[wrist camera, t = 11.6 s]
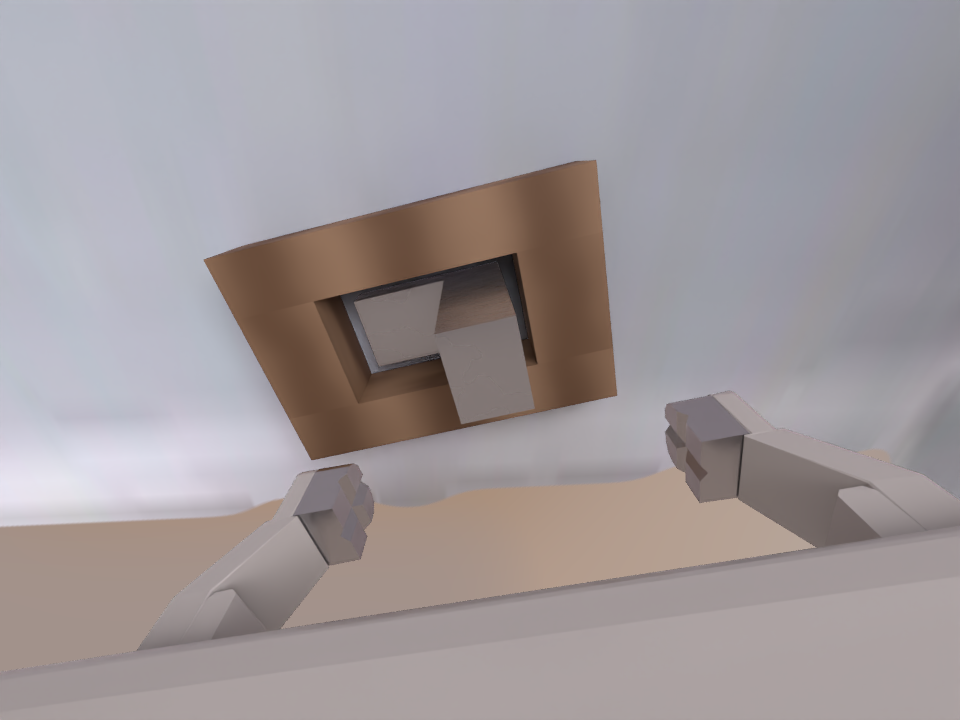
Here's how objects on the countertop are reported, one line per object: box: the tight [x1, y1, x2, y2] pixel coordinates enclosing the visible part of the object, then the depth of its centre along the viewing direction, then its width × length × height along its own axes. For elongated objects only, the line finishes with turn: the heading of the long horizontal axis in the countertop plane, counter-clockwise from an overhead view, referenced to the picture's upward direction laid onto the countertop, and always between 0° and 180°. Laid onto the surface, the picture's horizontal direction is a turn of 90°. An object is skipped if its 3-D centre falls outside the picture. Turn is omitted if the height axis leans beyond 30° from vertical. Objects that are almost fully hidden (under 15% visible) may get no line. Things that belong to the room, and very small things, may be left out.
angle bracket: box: [354, 261, 535, 424], centre depth 19 cm, size 8×4×9 cm, turn 103°
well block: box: [204, 160, 617, 460], centre depth 22 cm, size 18×12×4 cm, turn 103°
